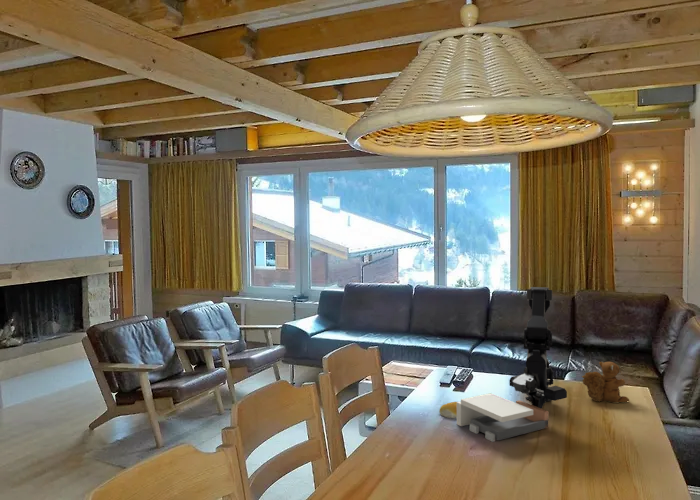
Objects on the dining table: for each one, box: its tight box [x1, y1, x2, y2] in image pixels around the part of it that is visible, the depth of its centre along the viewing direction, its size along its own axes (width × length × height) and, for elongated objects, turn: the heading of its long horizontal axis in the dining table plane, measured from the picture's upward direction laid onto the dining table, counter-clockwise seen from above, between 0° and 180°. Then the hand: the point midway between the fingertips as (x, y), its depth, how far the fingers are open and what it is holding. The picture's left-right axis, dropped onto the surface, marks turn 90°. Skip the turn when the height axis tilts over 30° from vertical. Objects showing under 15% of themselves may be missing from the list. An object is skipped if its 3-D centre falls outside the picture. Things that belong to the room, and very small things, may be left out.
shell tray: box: [471, 399, 549, 441], centre depth 176 cm, size 20×12×5 cm, turn 118°
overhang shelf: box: [456, 392, 533, 443], centre depth 174 cm, size 12×20×8 cm, turn 28°
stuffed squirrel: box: [581, 361, 630, 403], centre depth 202 cm, size 10×14×13 cm
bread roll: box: [439, 401, 458, 419], centre depth 190 cm, size 8×9×4 cm
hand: (537, 413), depth 181 cm, fingers closed, pressing on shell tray
